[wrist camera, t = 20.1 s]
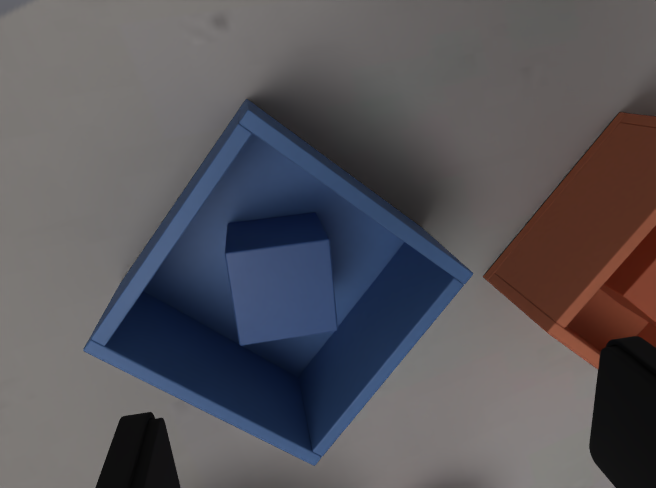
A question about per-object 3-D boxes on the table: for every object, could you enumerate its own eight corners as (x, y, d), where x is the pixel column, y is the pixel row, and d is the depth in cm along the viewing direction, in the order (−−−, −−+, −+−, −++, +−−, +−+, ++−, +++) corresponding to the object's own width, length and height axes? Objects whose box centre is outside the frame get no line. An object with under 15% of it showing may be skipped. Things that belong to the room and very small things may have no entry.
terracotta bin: (619, 111, 27) (729, 124, 21) (735, 226, 31) (859, 266, 25) (482, 276, 29) (546, 332, 23) (606, 367, 33) (691, 437, 27)
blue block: (226, 222, 25) (223, 252, 21) (315, 211, 26) (330, 238, 22) (239, 303, 27) (239, 346, 23) (323, 291, 27) (338, 331, 23)
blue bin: (246, 98, 24) (248, 109, 18) (422, 227, 28) (474, 273, 22) (119, 284, 26) (81, 351, 20) (299, 383, 30) (314, 466, 23)
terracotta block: (623, 201, 28) (688, 223, 24) (670, 244, 30) (739, 272, 26) (569, 263, 29) (622, 296, 25) (617, 302, 31) (676, 339, 26)
